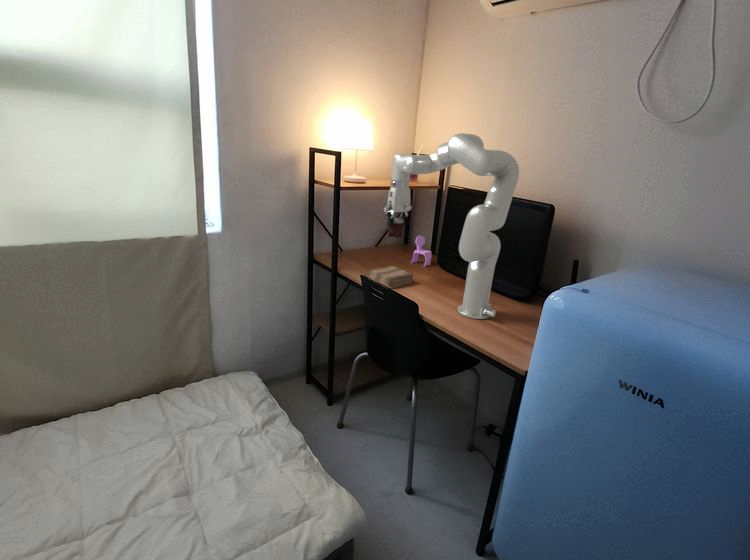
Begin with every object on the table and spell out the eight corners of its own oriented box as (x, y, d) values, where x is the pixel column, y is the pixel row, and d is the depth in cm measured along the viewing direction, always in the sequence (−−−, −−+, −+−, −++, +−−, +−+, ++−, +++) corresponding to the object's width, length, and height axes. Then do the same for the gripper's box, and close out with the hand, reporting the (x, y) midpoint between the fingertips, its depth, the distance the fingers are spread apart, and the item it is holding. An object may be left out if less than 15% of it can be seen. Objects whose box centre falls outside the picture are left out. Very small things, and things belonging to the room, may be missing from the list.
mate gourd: (385, 234, 183) (387, 200, 178) (402, 234, 185) (405, 201, 180) (389, 238, 176) (392, 203, 171) (407, 238, 178) (410, 204, 173)
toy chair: (423, 267, 211) (426, 239, 206) (409, 263, 217) (412, 235, 212) (432, 264, 217) (435, 237, 213) (418, 260, 223) (421, 233, 218)
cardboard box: (411, 284, 186) (412, 274, 185) (388, 289, 178) (389, 278, 176) (391, 275, 197) (392, 265, 195) (368, 280, 188) (369, 269, 186)
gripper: (391, 186, 165) (388, 229, 171) (420, 185, 176) (416, 226, 182) (379, 183, 170) (376, 226, 176) (407, 183, 181) (404, 222, 187)
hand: (396, 225), depth 179 cm, fingers closed on mate gourd, 7 cm apart
